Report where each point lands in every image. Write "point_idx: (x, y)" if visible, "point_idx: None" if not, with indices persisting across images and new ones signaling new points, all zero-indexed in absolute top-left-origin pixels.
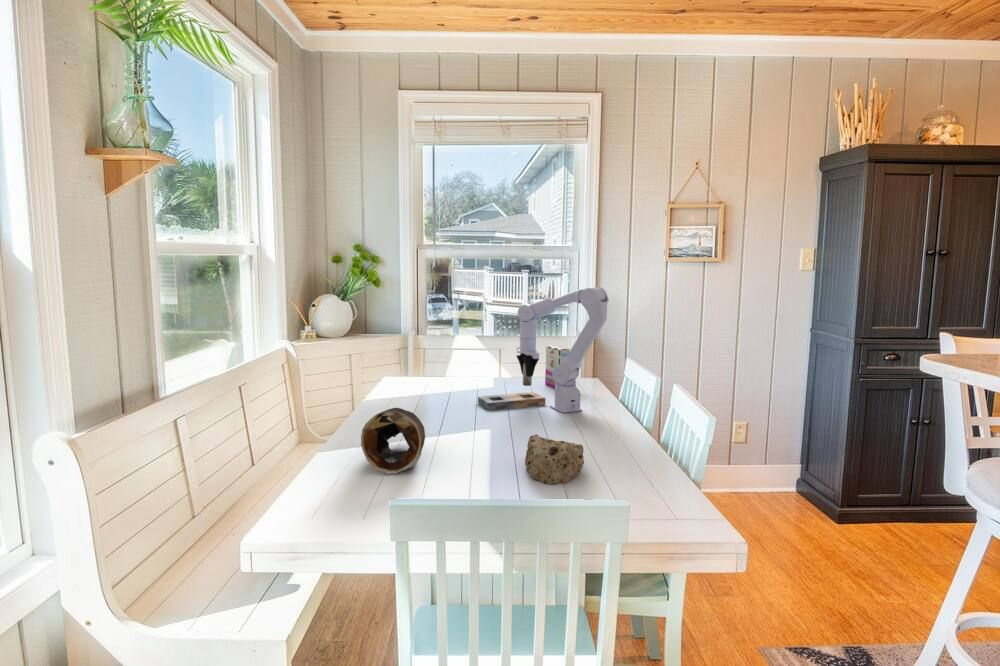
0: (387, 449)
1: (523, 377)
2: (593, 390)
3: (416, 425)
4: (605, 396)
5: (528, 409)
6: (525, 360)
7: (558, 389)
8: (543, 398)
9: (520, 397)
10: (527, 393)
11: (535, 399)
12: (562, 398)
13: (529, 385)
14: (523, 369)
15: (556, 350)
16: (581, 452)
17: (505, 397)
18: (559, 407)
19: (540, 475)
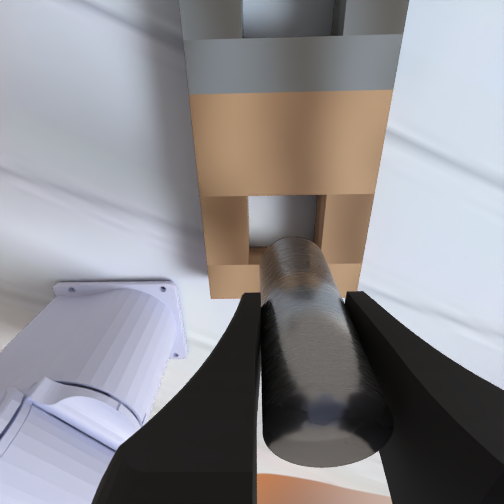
0: None
1: (296, 269)
2: (350, 475)
3: None
4: (264, 470)
5: (147, 168)
6: (139, 445)
7: (54, 361)
8: (210, 288)
9: (265, 181)
10: (339, 258)
11: (206, 246)
12: (47, 332)
13: (259, 271)
14: (311, 321)
15: None
16: None
17: (303, 76)
18: (97, 297)
19: None
